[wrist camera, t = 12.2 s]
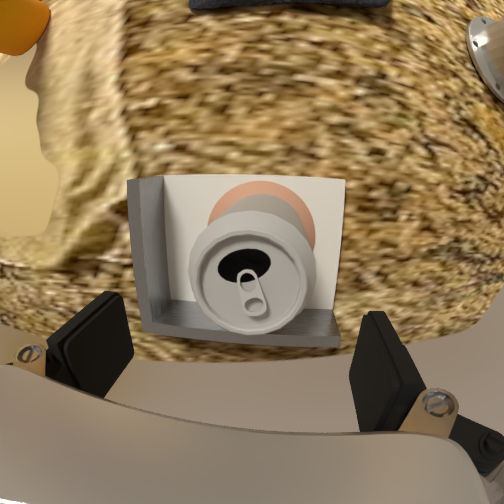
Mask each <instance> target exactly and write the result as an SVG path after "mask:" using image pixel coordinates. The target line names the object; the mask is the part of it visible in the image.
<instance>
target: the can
mask: <svg viewBox="0 0 504 504" xmlns="http://www.w3.org/2000/svg"><path fill="white" fill-rule="evenodd" d="M188 274H189V279H190V284H191V288H192V291H193V293H194V297H195V299H196V301H197V303H198V305H199V306H200V308H201V310H202V311H203V313H204V314H205V315H206V316H207V317H208V318H210V319H211V320H212V321H213V322H214V323H215V324H216V325H218V326H220V327H222V328H224V329H226V330H228V331H230V332H234V333H238V334H243V335H263V334H267V333H270V332H273V331H275V330H278V329H281V328H282V327H283V326H285V325H286V324H287V323H289V322H290V321H291V320H293V319H294V318H295V316H297V315H298V314H299V313H301V311H302V310H303V309H304V307H305V306H306V304H307V303H308V301H309V300H310V299H311V297H312V293H313V290H314V287H315V283H316V280H317V278H316V260H315V257H314V254H313V252H312V249H311V246H310V243H309V241H308V238H307V235H306V232H305V230H304V227H303V224H302V222H301V220H300V218H299V215H298V213H297V212H296V211H295V210H294V209H293V208H292V206H291V205H290V204H289V203H287V202H286V201H284V200H282V199H280V198H279V197H277V196H273V195H268V194H255V195H249V196H247V197H244V198H242V199H240V200H238V201H236V202H235V203H234V204H233V205H232V206H231V207H229V208H228V209H227V210H226V211H225V212H223V213H222V214H221V215H220V216H219V217H218V218H216V219H215V220H214V221H213V222H212V223H211V224H210V225H209V226H208V227H207V228H206V229H205V230H204V231H203V232H202V233H201V234H200V235H199V236H198V238H197V240H196V242H195V244H194V246H193V248H192V250H191V252H190V258H189V266H188Z"/></svg>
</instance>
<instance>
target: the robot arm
mask: <svg viewBox="0 0 504 504" xmlns="http://www.w3.org/2000/svg"><path fill="white" fill-rule="evenodd" d="M466 42H467V47H468V50H469V53H470V56H471V58H472V61H473V63H474V65H475V67H476V69H477V71H478V73H479V75H480V76H481V78H482V79H483V81H484V82H485V84H486V85H487V86H488V88H489V89H490V90H491V91H492V93H493V94H494V95H495V96H496V97H497V98H498V99H499V100H501V101H502V102H503V103H504V17H502V18H500V19H498V20H496V21H495V20H493V19H491V18H488V17H484V16H478V17H476V18H474V19H472V20H471V21H470V22H469V23H468V25H467V28H466ZM46 341H47V344H48V347H49V348H48V349H47V350H46V349H45V347H44V346H43V345H42V344H38V343H30V344H27V345H25V346H23V347H21V348H20V349H18V351H17V352H16V353H15V356H14V360H13V363H8V364H0V504H504V436H503V435H502V434H500V433H499V432H497V431H494V430H492V429H490V428H488V427H485V426H483V425H481V424H478V423H476V422H474V421H472V420H470V419H467V418H465V417H463V416H461V415H459V414H457V413H458V409H459V405H458V402H457V400H456V398H455V397H454V396H453V395H452V394H451V393H450V392H448V391H446V390H444V389H440V388H430V389H426V386H425V384H424V382H423V380H422V378H421V376H420V374H419V372H418V370H417V368H416V366H415V364H414V362H413V360H412V358H411V356H410V354H409V352H408V351H407V349H406V347H405V346H404V345H403V344H402V343H401V341H400V339H399V337H398V335H397V333H396V331H395V330H394V328H393V326H392V324H391V322H390V320H389V319H388V317H387V315H386V313H385V312H384V311H369V312H368V314H367V315H364V316H363V318H362V322H361V327H360V331H359V336H358V340H357V344H356V348H355V352H354V356H353V360H352V364H351V367H350V371H349V380H350V385H351V390H352V394H353V399H354V404H355V409H356V414H357V419H358V424H359V430H360V432H343V433H308V432H306V433H305V432H304V433H303V432H279V431H265V430H254V429H244V428H236V427H227V426H220V425H214V424H208V423H201V422H196V421H191V420H185V419H180V418H176V417H171V416H166V415H162V414H158V413H154V412H150V411H146V410H142V409H138V408H135V407H131V406H127V405H124V404H121V403H117V402H114V401H111V400H108V399H104V397H105V395H106V394H107V393H108V391H109V390H110V388H111V387H112V386H113V384H114V383H115V381H116V380H117V379H118V377H119V376H120V374H121V373H122V372H123V370H124V369H125V368H126V366H127V365H128V363H129V362H130V361H131V359H132V358H133V356H134V348H133V343H132V339H131V335H130V330H129V326H128V321H127V316H126V311H125V306H124V301H123V298H122V297H121V296H120V295H119V293H118V292H111V291H104V292H103V293H102V294H100V295H99V296H98V297H97V298H95V299H94V300H93V301H92V302H90V303H89V304H88V305H87V306H86V307H84V308H83V309H82V310H81V311H80V312H78V313H77V314H76V315H75V316H74V317H72V318H71V319H70V320H69V321H68V322H66V323H65V324H64V325H63V326H62V327H61V328H59V329H58V330H57V331H56V332H55V333H54V334H53V335H51V336H50V337H49V338H48V339H47V340H46Z"/></svg>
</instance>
